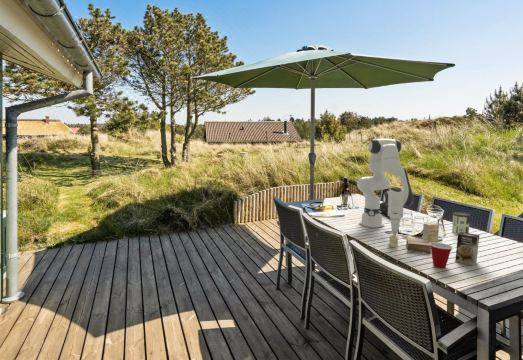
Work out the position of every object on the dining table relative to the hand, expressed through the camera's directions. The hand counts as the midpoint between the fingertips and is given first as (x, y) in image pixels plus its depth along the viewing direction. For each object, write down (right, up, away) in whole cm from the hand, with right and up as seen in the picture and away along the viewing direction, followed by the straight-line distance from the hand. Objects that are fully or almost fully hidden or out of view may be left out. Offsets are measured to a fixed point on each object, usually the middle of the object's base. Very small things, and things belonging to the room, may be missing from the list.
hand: (394, 234), depth 191 cm
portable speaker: (+28, +3, +75) cm, 80 cm away
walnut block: (+13, -8, -4) cm, 16 cm away
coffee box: (+28, -11, -25) cm, 39 cm away
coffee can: (+59, -4, +25) cm, 64 cm away
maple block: (0, -7, +2) cm, 8 cm away
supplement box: (+26, -7, +5) cm, 27 cm away
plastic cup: (+11, -12, -29) cm, 34 cm away
